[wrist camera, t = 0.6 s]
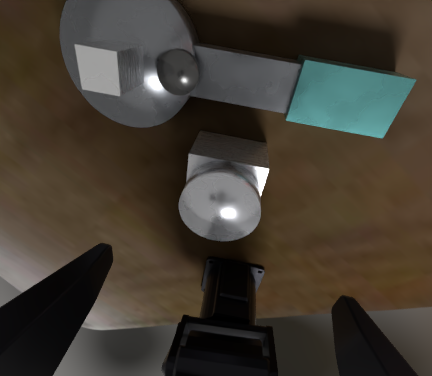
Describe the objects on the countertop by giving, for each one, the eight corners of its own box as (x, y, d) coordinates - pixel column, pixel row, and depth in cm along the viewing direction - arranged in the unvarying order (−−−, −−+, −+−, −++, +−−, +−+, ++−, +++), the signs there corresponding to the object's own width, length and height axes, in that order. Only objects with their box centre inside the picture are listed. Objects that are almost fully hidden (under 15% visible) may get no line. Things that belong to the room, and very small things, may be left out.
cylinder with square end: (251, 196, 22) (250, 247, 17) (194, 185, 22) (176, 232, 17) (266, 142, 19) (270, 186, 14) (200, 130, 19) (180, 169, 14)
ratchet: (418, 27, 14) (502, 32, 9) (352, 153, 18) (385, 199, 14) (73, -33, 14) (-15, -58, 10) (94, 105, 19) (41, 133, 14)
